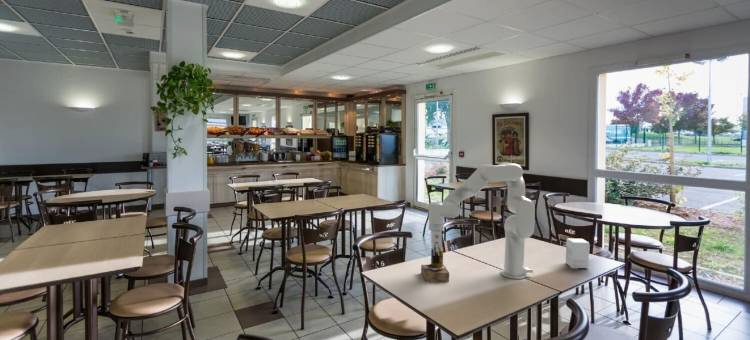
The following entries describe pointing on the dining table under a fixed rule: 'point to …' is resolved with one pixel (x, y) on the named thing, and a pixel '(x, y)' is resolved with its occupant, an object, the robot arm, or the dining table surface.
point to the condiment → (436, 265)
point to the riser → (435, 274)
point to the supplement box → (577, 253)
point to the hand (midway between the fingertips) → (435, 260)
